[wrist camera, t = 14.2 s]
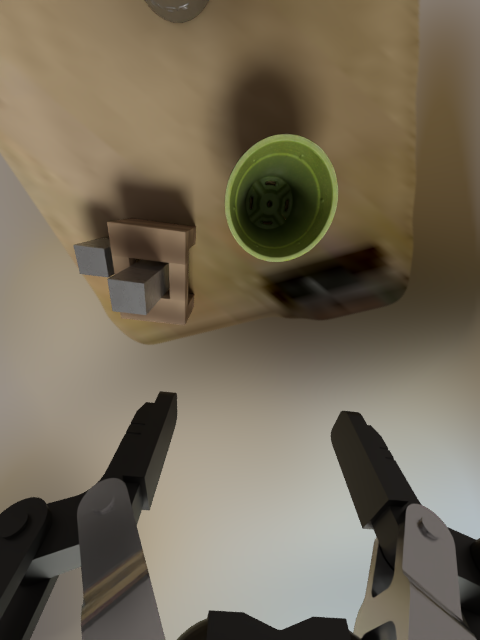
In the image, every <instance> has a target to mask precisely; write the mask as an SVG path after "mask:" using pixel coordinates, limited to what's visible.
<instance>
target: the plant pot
mask: <svg viewBox="0 0 480 640" xmlns="http://www.w3.org/2000/svg"><path fill="white" fill-rule="evenodd" d="M267 181H275V182H276V185H266V182H267ZM251 197H253V205H252V207H253V209H250V198H251ZM286 200H289V206H288V210H287V211H285V204H286ZM268 201H271V202H272V205H271V206H270V207H268V206H267V203H268ZM337 201H338V184H337V178H336V174H335V171H334V168H333V166H332V163H331V161H330V160H329V158H328V156H327V155H326V154H325V152H324V151H323V150H322V149H321V148H320V147H319V146H318V145H316V144H315V143H314V142H312V141H310V140H309V139H307V138H305V137H302V136H299V135H293V134H279V135H274V136H271V137H268V138H265V139H263V140H261V141H259V142H257V143H256V144H254V145H253V146H252V147H251V148H250V149H249V150H247V151H246V152H245V153H244V155H243V156H242V157H241V158H240V159H239V161H238V162H237V164H236V166H235V167H234V169H233V171H232V173H231V176H230V178H229V181H228V184H227V188H226V194H225V213H226V218H227V222H228V225H229V228H230V231H231V233H232V235H233V236H234V238H235V240H236V241H237V242H238V244H239V245H240V246H241V247H242V248H243V249H244V250H245V251H247V252H248V253H249V254H251V255H253V256H254V257H256V258H259V259H261V260H265V261H271V262H282V261H287V260H291V259H294V258H297V257H299V256H301V255H303V254H305V253H306V252H308V251H309V250H311V249H312V248H313V247H314V246H315V245H316V244H317V243H318V242H319V241H320V240H321V239H322V237H323V236H324V235H325V233H326V232H327V230H328V228H329V227H330V225H331V222H332V220H333V218H334V215H335V211H336V207H337ZM282 215H283V216H284V217H285V218H286V220H285V219H284V217H283V216H282ZM263 221H264V222H272V224H263Z"/></svg>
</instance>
